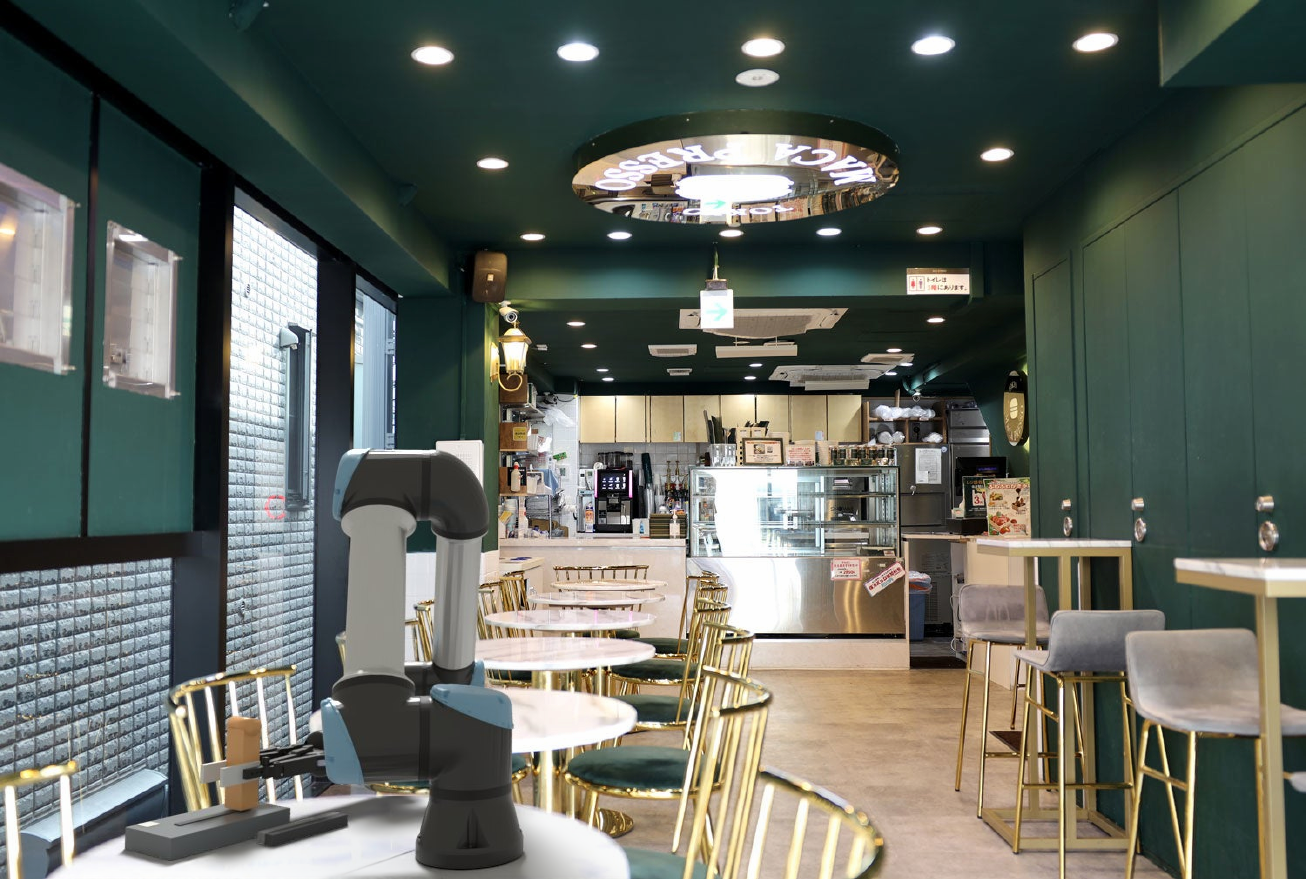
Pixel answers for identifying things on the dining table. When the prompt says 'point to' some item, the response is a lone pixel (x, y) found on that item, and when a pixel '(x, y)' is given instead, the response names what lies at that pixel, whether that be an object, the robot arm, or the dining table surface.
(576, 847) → the dining table surface
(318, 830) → the grooved grey bar
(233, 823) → the base
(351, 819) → the dining table surface
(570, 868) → the dining table surface
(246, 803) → the handle
